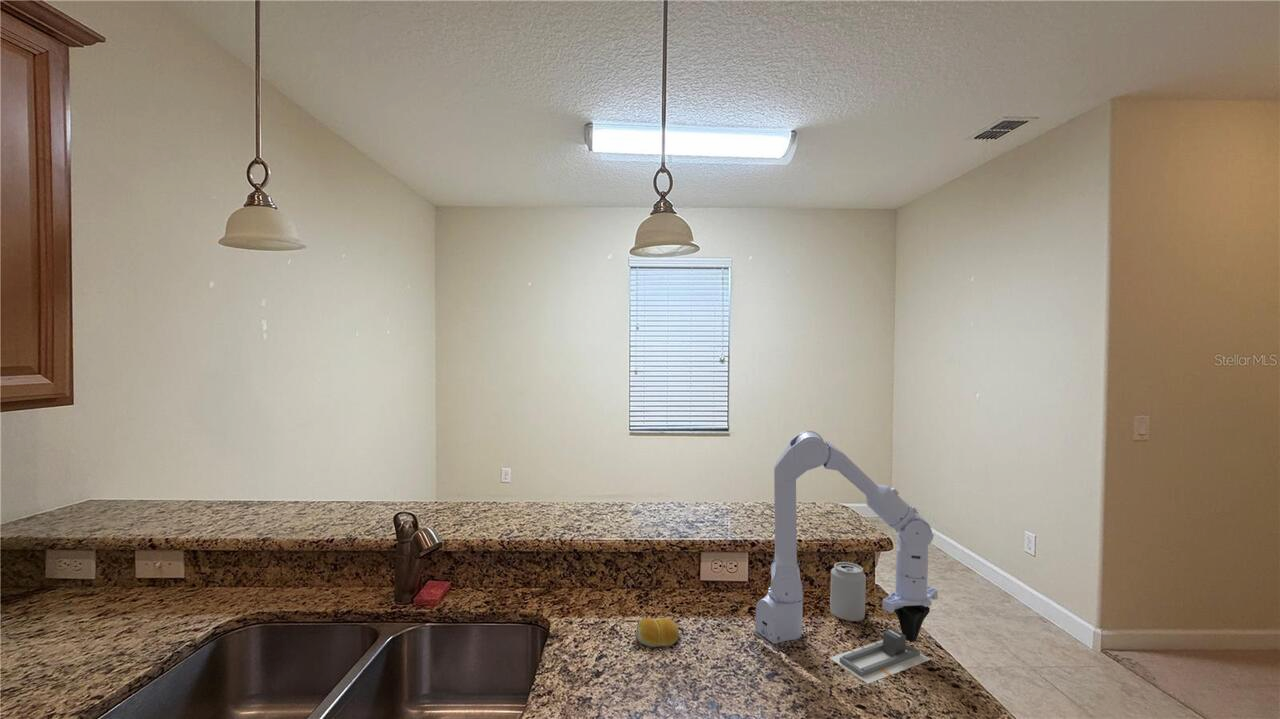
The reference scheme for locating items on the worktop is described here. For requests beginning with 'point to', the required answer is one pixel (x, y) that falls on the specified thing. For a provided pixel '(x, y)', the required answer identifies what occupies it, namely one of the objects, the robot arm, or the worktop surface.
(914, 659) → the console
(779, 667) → the worktop surface
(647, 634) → the bread roll
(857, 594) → the can
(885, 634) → the fader
